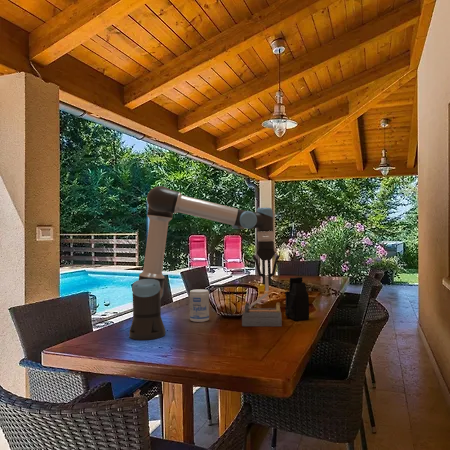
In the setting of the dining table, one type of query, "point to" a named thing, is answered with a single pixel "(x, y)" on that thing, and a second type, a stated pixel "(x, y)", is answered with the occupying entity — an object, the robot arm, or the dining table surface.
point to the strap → (260, 298)
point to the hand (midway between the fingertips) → (267, 290)
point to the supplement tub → (199, 305)
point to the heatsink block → (262, 316)
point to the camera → (297, 300)
